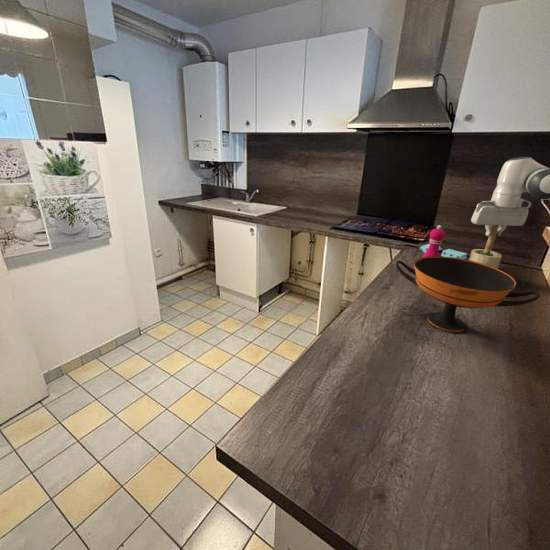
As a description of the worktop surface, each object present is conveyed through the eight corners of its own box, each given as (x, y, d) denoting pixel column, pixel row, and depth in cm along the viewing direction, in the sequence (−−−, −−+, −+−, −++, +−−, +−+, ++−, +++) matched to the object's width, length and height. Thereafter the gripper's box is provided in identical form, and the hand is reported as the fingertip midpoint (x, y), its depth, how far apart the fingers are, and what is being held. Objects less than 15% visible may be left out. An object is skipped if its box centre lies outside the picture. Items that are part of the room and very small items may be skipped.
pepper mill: (437, 266, 136) (449, 225, 128) (436, 271, 130) (448, 228, 123) (421, 263, 140) (431, 222, 132) (419, 268, 134) (430, 225, 126)
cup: (375, 320, 91) (385, 268, 84) (397, 292, 110) (407, 247, 103) (519, 369, 72) (548, 307, 65) (515, 325, 91) (538, 273, 84)
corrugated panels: (427, 248, 163) (418, 251, 158) (428, 243, 162) (419, 245, 156) (497, 267, 138) (489, 271, 133) (499, 261, 137) (491, 265, 132)
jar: (481, 272, 132) (489, 249, 127) (499, 282, 122) (508, 257, 118) (459, 271, 131) (466, 248, 127) (474, 281, 122) (483, 257, 117)
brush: (485, 259, 126) (497, 222, 120) (492, 262, 122) (506, 225, 115) (475, 258, 126) (487, 222, 119) (482, 262, 121) (495, 225, 115)
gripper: (484, 201, 110) (473, 237, 116) (535, 203, 111) (522, 238, 117) (473, 199, 116) (463, 232, 122) (522, 200, 117) (509, 234, 123)
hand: (492, 235), depth 119 cm, fingers closed on brush, 2 cm apart
